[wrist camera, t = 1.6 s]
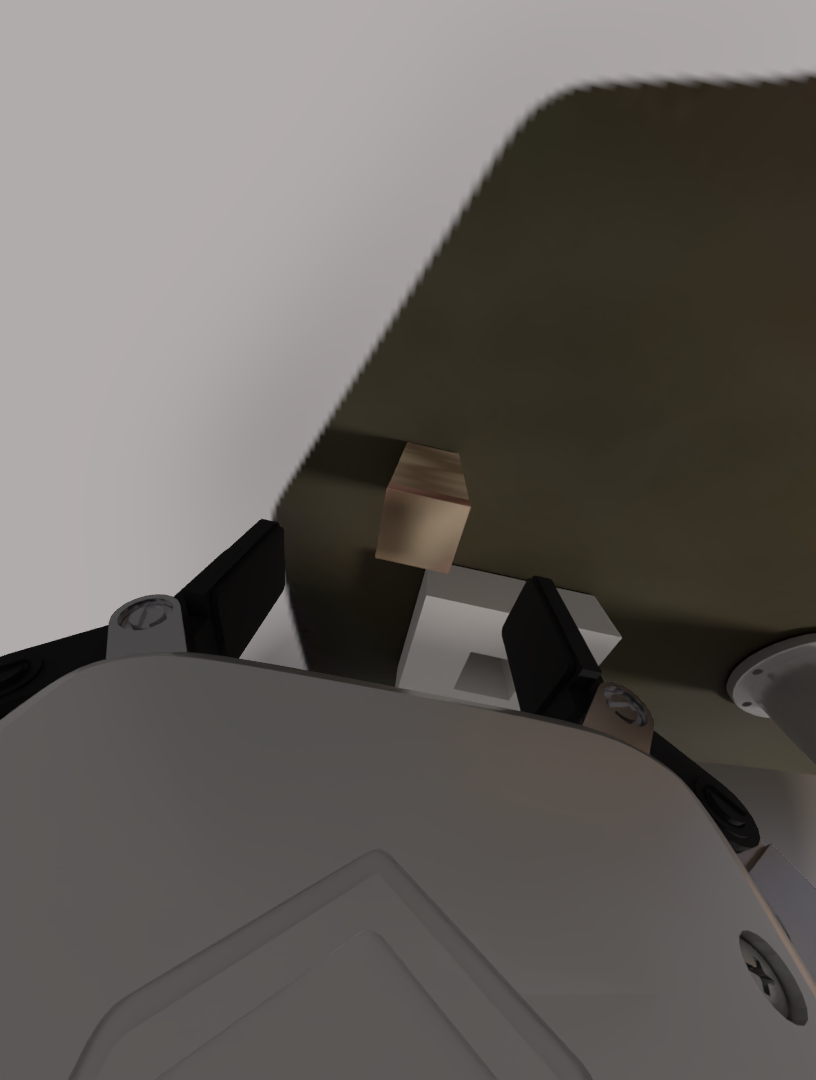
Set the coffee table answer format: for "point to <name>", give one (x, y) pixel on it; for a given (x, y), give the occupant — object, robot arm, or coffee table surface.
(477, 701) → the socket block
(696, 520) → the coffee table surface
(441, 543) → the maple peg
